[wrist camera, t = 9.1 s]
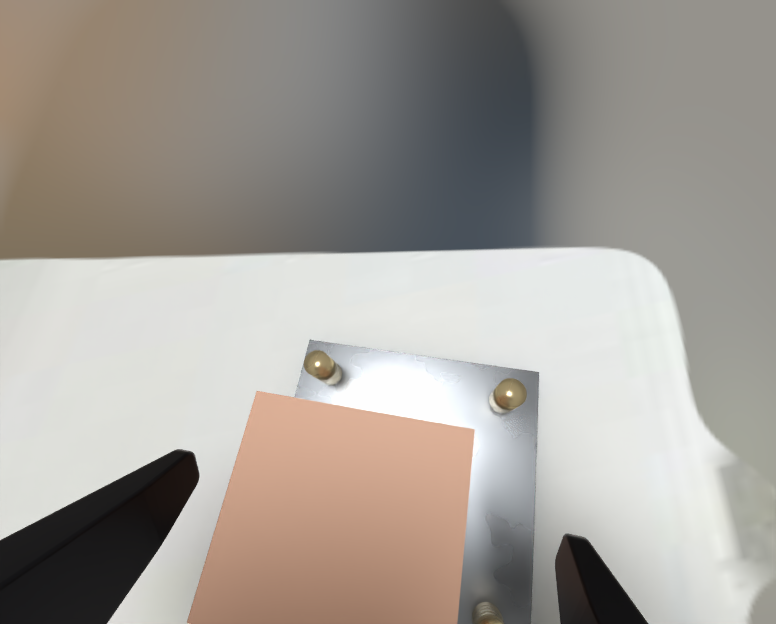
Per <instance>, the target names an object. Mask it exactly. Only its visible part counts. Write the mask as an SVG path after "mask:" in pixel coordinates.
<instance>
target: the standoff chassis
mask: <svg viewBox="0 0 776 624" xmlns="http://www.w3.org/2000/svg"><path fill="white" fill-rule="evenodd" d="M538 387H539V372H533V371H526V370H519V369H512V368H505V367H498V366H491V365H484V364H477V363H470V362H463V361H456V360H448V359H441V358H434V357H427V356H420V355H413V354H406V353H399V352H392V351H385V350H378V349H371V348H364V347H356V346H349V345H342V344H335V343H328V342H321V341H314V340H310V341H309V345H308V348H307V352H306V356H305V360H304V364H303V367H302V371H301V375H300V379H299V382H298V386H297V390H296V394H295V398H300V399H306V400H311V401H317V402H323V403H328V404H334V405H340V406H345V407H351V408H357V409H363V410H368V411H374V412H380V413H385V414H391V415H397V416H402V417H408V418H414V419H420V420H425V421H431V422H437V423H442V424H448V425H454V426H459V427H465V428H471V429H475V434H474V445H473V456H472V467H471V478H470V489H469V500H468V511H467V522H466V533H465V544H464V555H463V566H462V577H461V588H460V599H459V610H458V622H457V624H531V603H532V572H533V541H534V510H535V479H536V449H537V418H538Z"/></svg>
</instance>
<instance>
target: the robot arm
mask: <svg viewBox="0 0 776 624" xmlns="http://www.w3.org/2000/svg"><path fill="white" fill-rule="evenodd" d="M198 480H199V470H198V466H197V462H196V458H195V455H194V453H193V452H191V451H187V450H182V449H177V450H175V451H172V452H170V453H168V454H167V455H165V456H163V457H161V458H159V459H157V460H155V461H153V462H151V463H149V464H147V465H145V466H143V467H141V468H139V469H137V470H136V471H134V472H132V473H130V474H128V475H126V476H124V477H122V478H120V479H118V480H116V481H114V482H112V483H110V484H108V485H106V486H105V487H103V488H101V489H99V490H97V491H95V492H93V493H91V494H89V495H87V496H85V497H83V498H81V499H79V500H77V501H75V502H73V503H72V504H70V505H68V506H66V507H64V508H62V509H60V510H58V511H56V512H54V513H52V514H50V515H48V516H46V517H44V518H42V519H41V520H39V521H37V522H35V523H33V524H31V525H29V526H27V527H25V528H23V529H21V530H19V531H17V532H15V533H13V534H11V535H9V536H8V537H6V538H4V539H2V540H0V624H107V623H108V621H109V620H110V618H111V617H112V616H113V614H114V613H115V611H116V610H117V608H118V607H119V606H120V604H121V603H122V601H123V600H124V598H125V597H126V595H127V594H128V593H129V591H130V590H131V588H132V587H133V585H134V584H135V583H136V581H137V580H138V578H139V577H140V575H141V574H142V573H143V571H144V570H145V568H146V567H147V565H148V564H149V562H150V561H151V560H152V558H153V557H154V555H155V554H156V552H157V551H158V549H159V548H160V546H161V545H162V543H163V542H164V540H165V538H166V537H167V535H168V533H169V532H170V530H171V528H172V527H173V525H174V523H175V521H176V520H177V518H178V516H179V515H180V513H181V511H182V509H183V508H184V506H185V504H186V502H187V501H188V499H189V497H190V496H191V494H192V492H193V490H194V489H195V487H196V485H197V483H198ZM555 571H556V581H557V592H558V602H559V612H560V622H561V624H648V623H647V621H646V620H645V618H644V617H643V616H642V614H641V613H640V612H639V610H638V609H637V607H636V606H635V605H634V603H633V602H632V600H631V599H630V598H629V596H628V595H627V593H626V592H625V591H624V589H623V588H622V586H621V585H620V584H619V582H618V581H617V580H616V578H615V577H614V575H613V574H612V573H611V571H610V570H609V568H608V567H607V566H606V564H605V563H604V561H603V560H602V559H601V557H600V556H599V554H598V553H597V552H596V550H595V549H594V548H593V546H592V545H591V543H590V542H589V541H588V540H587V539H586V538H584V537H582V536H577V535H572V534H565V535H564V536H563V539H562V541H561V544H560V547H559V550H558V553H557V555H556V560H555Z"/></svg>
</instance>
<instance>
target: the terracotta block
mask: <svg viewBox="0 0 776 624" xmlns="http://www.w3.org/2000/svg"><path fill="white" fill-rule="evenodd" d="M474 434H475V429H471V428H465V427H459V426H454V425H448V424H442V423H437V422H431V421H425V420H420V419H414V418H408V417H402V416H397V415H391V414H385V413H380V412H374V411H368V410H363V409H357V408H351V407H345V406H340V405H334V404H328V403H323V402H317V401H311V400H306V399H300V398H294V397H288V396H283V395H277V394H271V393H266V392H260V391H257V392H256V395H255V399H254V402H253V405H252V409H251V412H250V415H249V418H248V422H247V425H246V428H245V432H244V435H243V438H242V442H241V445H240V448H239V452H238V455H237V458H236V461H235V465H234V468H233V471H232V475H231V478H230V481H229V485H228V488H227V491H226V495H225V498H224V501H223V504H222V508H221V511H220V514H219V518H218V521H217V524H216V528H215V531H214V534H213V538H212V541H211V544H210V548H209V551H208V554H207V557H206V561H205V564H204V567H203V571H202V574H201V577H200V581H199V584H198V587H197V591H196V594H195V597H194V600H193V604H192V607H191V610H190V614H189V617H188V620H187V623H189V624H457V622H458V610H459V599H460V588H461V577H462V566H463V555H464V544H465V533H466V522H467V511H468V500H469V489H470V478H471V467H472V456H473V445H474Z"/></svg>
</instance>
